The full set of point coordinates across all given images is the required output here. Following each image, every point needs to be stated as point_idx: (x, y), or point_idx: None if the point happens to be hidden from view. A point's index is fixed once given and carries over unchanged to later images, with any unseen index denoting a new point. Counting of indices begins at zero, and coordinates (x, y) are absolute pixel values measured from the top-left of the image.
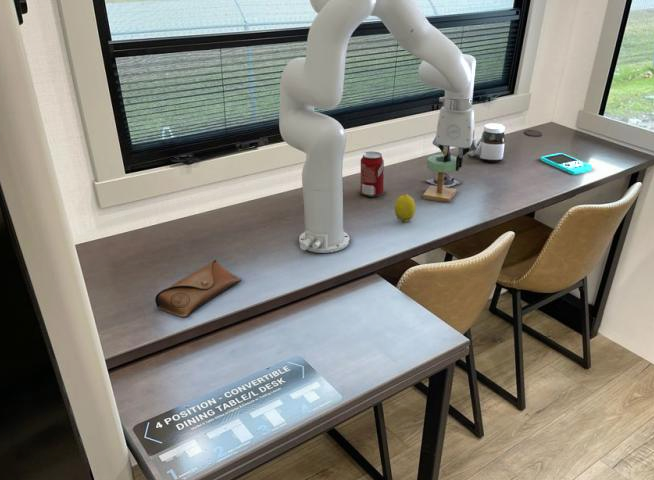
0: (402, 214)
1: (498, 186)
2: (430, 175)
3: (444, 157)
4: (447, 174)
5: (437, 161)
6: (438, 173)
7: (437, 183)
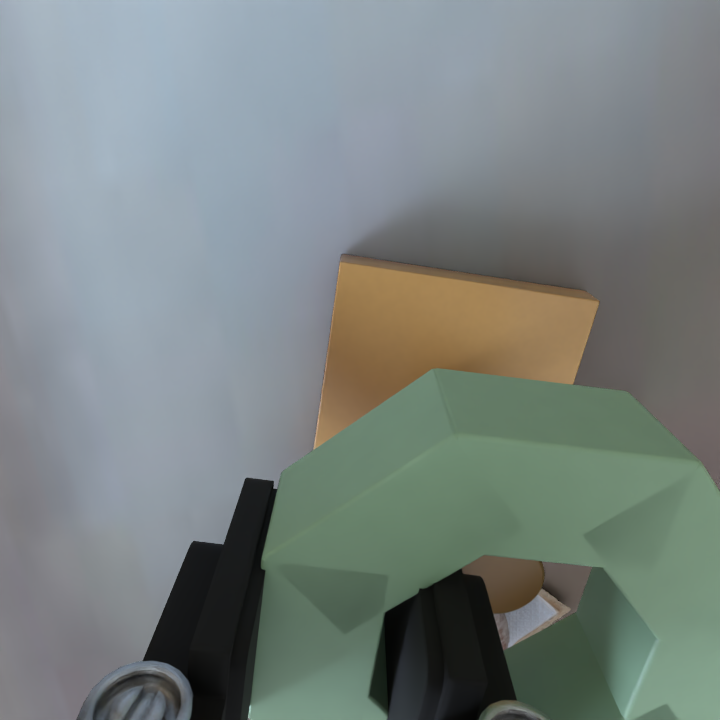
0: None
1: (25, 637)
2: None
3: (502, 679)
4: None
5: (617, 562)
6: None
7: None
